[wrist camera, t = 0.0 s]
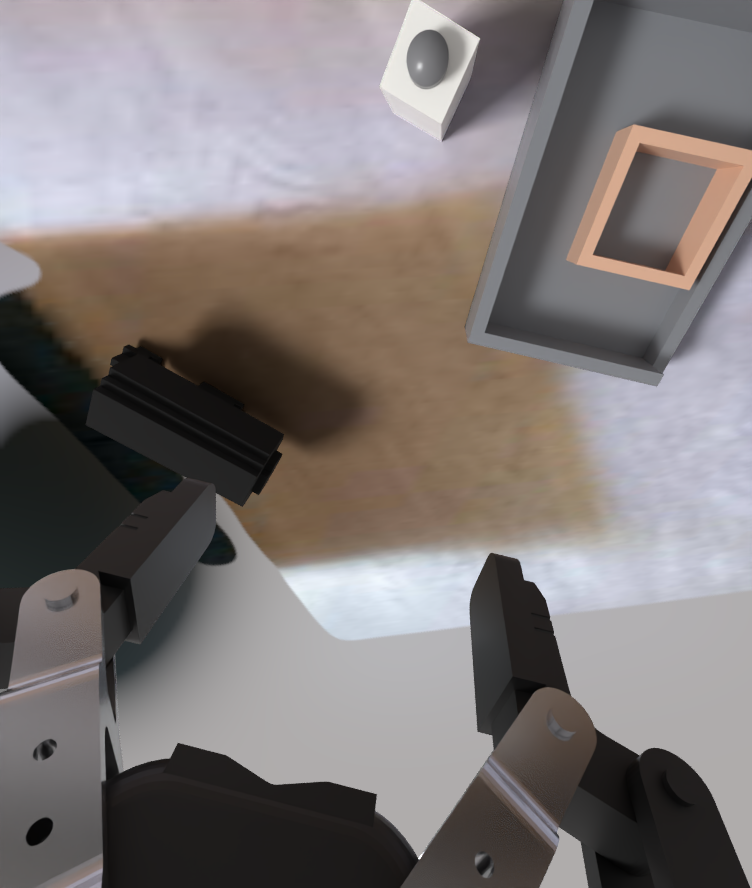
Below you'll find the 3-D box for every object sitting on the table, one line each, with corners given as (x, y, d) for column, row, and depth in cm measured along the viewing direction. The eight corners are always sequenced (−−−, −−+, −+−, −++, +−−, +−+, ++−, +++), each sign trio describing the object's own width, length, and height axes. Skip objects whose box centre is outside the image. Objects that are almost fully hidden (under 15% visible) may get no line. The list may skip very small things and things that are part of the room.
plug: (393, 113, 31) (376, 82, 23) (420, 46, 29) (412, -13, 21) (441, 142, 31) (441, 121, 23) (471, 77, 29) (481, 31, 21)
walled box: (570, -22, 26) (595, -67, 22) (826, 32, 26) (903, -2, 22) (464, 326, 37) (467, 342, 33) (643, 368, 37) (669, 389, 33)
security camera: (138, 322, 41) (59, 353, 33) (305, 417, 44) (271, 468, 35) (124, 378, 45) (48, 420, 36) (279, 463, 47) (243, 520, 39)
